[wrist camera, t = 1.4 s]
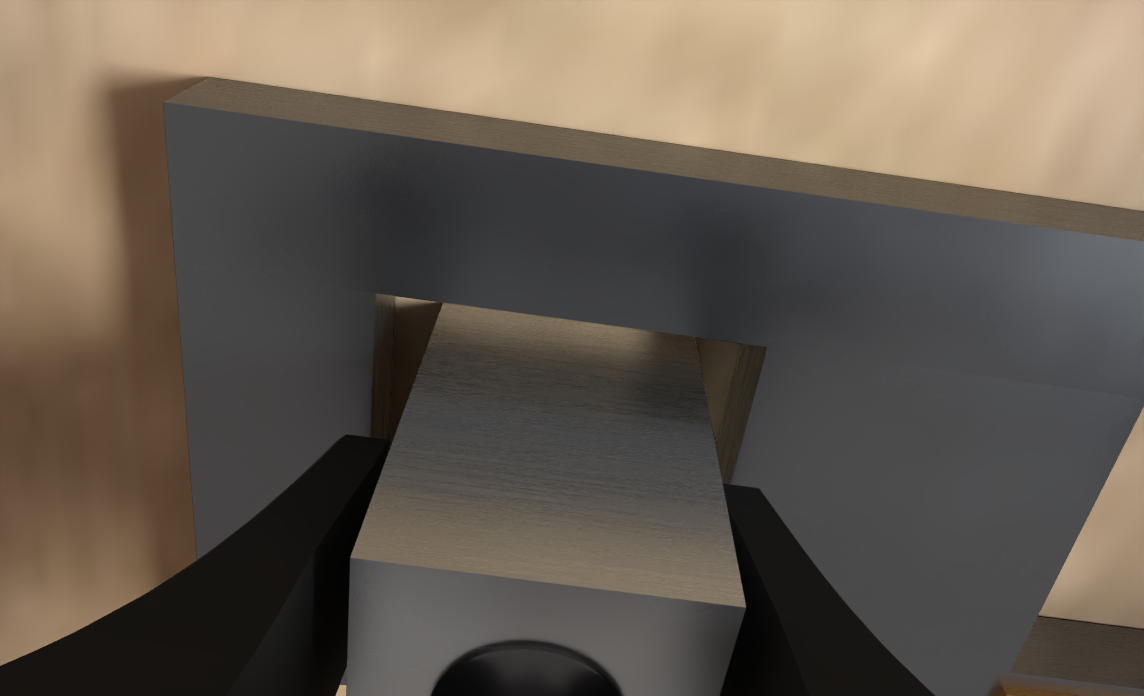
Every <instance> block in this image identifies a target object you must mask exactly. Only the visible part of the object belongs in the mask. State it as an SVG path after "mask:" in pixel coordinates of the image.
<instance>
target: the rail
mask: <svg viewBox="0 0 1144 696" xmlns="http://www.w3.org/2000/svg"><path fill="white" fill-rule="evenodd" d="M163 108H164V122H165V135H166V149H167V163H168V176H169V190H170V203H171V217H172V230H173V244H174V257H175V271H176V284H177V298H178V311H179V325H180V338H181V352H182V365H183V379H184V392H185V406H186V419H187V433H188V447H189V460H190V474H191V487H192V501H193V514H194V528H195V541H196V555H197V560H198V559H199V558H201V557H202V556H204V555H205V554H206V553H208V552H209V551H211V550H212V549H213V548H214V547H216V546H217V545H218V544H220V543H221V542H222V541H224V540H225V539H226V538H227V537H229V536H230V535H231V534H233V533H234V532H235V531H236V530H238V529H239V528H240V527H242V526H243V525H244V524H246V523H247V522H248V521H249V520H251V519H252V518H253V517H254V516H255V515H257V514H258V513H259V512H260V511H261V510H262V509H264V508H265V507H266V506H267V505H268V504H269V503H271V502H272V501H273V500H274V499H275V498H276V497H277V496H279V495H280V494H281V493H282V492H283V491H284V490H286V489H287V488H288V487H289V486H290V485H291V484H292V483H293V482H294V481H296V480H297V479H298V478H299V477H300V476H301V475H302V474H303V473H304V472H305V471H306V470H307V469H308V468H310V467H311V466H312V465H313V464H314V463H315V462H316V461H317V460H318V459H319V458H320V457H321V456H322V455H323V454H324V453H325V452H326V451H327V450H328V449H329V448H330V447H331V446H332V445H333V444H334V443H335V442H336V441H337V440H339V439H340V438H341V437H343V436H344V435H346V434H349V435H356V436H364V437H372V438H379V439H387V440H388V432H389V412H390V392H391V371H392V351H393V331H394V311H395V296H398V297H405V298H413V299H420V300H427V301H435V302H442V303H449V304H457V305H464V306H471V307H479V308H486V309H493V310H501V311H508V312H515V313H523V314H530V315H537V316H545V317H552V318H559V319H567V320H574V321H581V322H589V323H596V324H603V325H611V326H618V327H625V328H633V329H640V330H647V331H655V332H662V333H669V334H677V335H684V336H691V337H699V338H706V339H713V340H721V341H728V342H735V343H742V344H741V348H740V352H739V356H738V360H737V364H736V368H735V372H734V376H733V380H732V384H731V388H730V392H729V396H728V400H727V404H726V408H725V411H724V415H723V419H722V423H721V427H720V431H719V435H718V439H717V443H716V451H717V457H718V462H719V467H720V472H721V478H722V483H724V484H731V485H739V486H747V487H754V488H759V489H760V490H761V491H762V493H763V494H764V496H765V497H766V498H767V500H768V501H769V502H770V504H771V505H772V507H773V508H774V509H775V511H776V512H777V513H778V515H779V516H780V518H781V519H782V520H783V522H784V523H785V525H786V526H787V527H788V529H789V530H790V532H791V533H792V534H793V536H794V537H795V538H796V540H797V541H798V542H799V544H800V545H801V547H802V548H803V549H804V551H805V552H806V553H807V555H808V556H809V557H810V559H811V560H812V561H813V563H814V564H815V565H816V567H817V568H818V569H819V570H820V572H821V573H822V574H823V575H824V577H825V578H826V579H827V581H828V582H829V583H830V584H831V586H832V587H833V588H834V589H835V591H836V592H837V593H838V594H839V595H840V597H841V598H842V599H843V600H844V601H845V602H846V604H847V605H848V606H849V607H850V608H851V610H852V611H853V612H854V613H855V614H856V615H857V616H858V617H859V619H860V620H861V621H862V622H863V623H864V624H865V625H866V626H867V628H868V629H869V630H870V631H871V632H872V633H873V634H874V635H875V637H876V638H877V639H878V640H879V641H880V642H881V643H882V644H883V645H884V646H885V647H886V648H887V649H888V650H889V651H890V652H891V653H892V654H893V655H894V656H895V658H897V659H898V660H899V661H900V662H901V663H902V664H903V665H904V666H905V667H906V668H907V669H908V670H909V671H910V672H911V673H912V674H913V675H914V676H915V677H916V678H917V679H918V680H919V681H920V682H921V683H922V684H923V685H924V686H926V687H927V688H928V689H929V690H930V691H931V692H932V693H933V694H934V695H935V696H1144V630H1139V629H1131V628H1123V627H1116V626H1108V625H1100V624H1092V623H1084V622H1076V621H1068V620H1060V619H1053V618H1045V617H1037V616H1038V614H1039V612H1040V610H1041V608H1042V606H1043V604H1044V602H1045V600H1046V598H1047V596H1048V594H1049V593H1050V591H1051V589H1052V587H1053V585H1054V583H1055V581H1056V579H1057V577H1058V575H1059V573H1060V571H1061V569H1062V567H1063V565H1064V563H1065V561H1066V559H1067V557H1068V555H1069V553H1070V551H1071V549H1072V547H1073V545H1074V543H1075V541H1076V539H1077V537H1078V535H1079V533H1080V531H1081V529H1082V527H1083V525H1084V523H1085V521H1086V519H1087V517H1088V515H1089V514H1090V512H1091V510H1092V508H1093V506H1094V504H1095V502H1096V500H1097V498H1098V496H1099V494H1100V492H1101V490H1102V488H1103V486H1104V484H1105V482H1106V480H1107V478H1108V476H1109V474H1110V472H1111V470H1112V468H1113V466H1114V464H1115V462H1116V460H1117V458H1118V456H1119V454H1120V452H1121V450H1122V448H1123V446H1124V444H1125V442H1126V440H1127V438H1128V436H1129V435H1130V433H1131V431H1132V429H1133V427H1134V425H1135V423H1136V421H1137V419H1138V417H1139V415H1140V413H1141V411H1142V409H1143V407H1144V212H1143V211H1136V210H1129V209H1122V208H1115V207H1108V206H1101V205H1094V204H1088V203H1081V202H1074V201H1067V200H1060V199H1053V198H1046V197H1039V196H1032V195H1025V194H1018V193H1011V192H1004V191H997V190H990V189H983V188H976V187H969V186H962V185H955V184H949V183H942V182H935V181H928V180H921V179H914V178H907V177H900V176H893V175H886V174H879V173H872V172H865V171H858V170H851V169H844V168H837V167H830V166H823V165H816V164H810V163H803V162H796V161H789V160H782V159H775V158H768V157H761V156H754V155H747V154H740V153H733V152H726V151H719V150H712V149H705V148H698V147H691V146H684V145H677V144H671V143H664V142H657V141H650V140H643V139H636V138H629V137H622V136H615V135H608V134H601V133H594V132H587V131H580V130H573V129H566V128H559V127H552V126H545V125H538V124H532V123H525V122H518V121H511V120H504V119H497V118H490V117H483V116H476V115H469V114H462V113H455V112H448V111H441V110H434V109H427V108H420V107H413V106H406V105H399V104H392V103H386V102H379V101H372V100H365V99H358V98H351V97H344V96H337V95H330V94H323V93H316V92H309V91H302V90H295V89H288V88H281V87H274V86H267V85H260V84H253V83H247V82H240V81H233V80H226V79H219V78H212V77H208V78H206V79H204V80H202V81H200V82H199V83H197V84H195V85H193V86H191V87H189V88H188V89H186V90H184V91H182V92H180V93H178V94H177V95H175V96H173V97H171V98H169V99H167V100H166V101H164V102H163ZM340 684H341V685H347V667H346V670H345V672H344V675H343V677H342V680H341V683H340Z"/></svg>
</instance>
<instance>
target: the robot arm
mask: <svg viewBox="0 0 1144 696" xmlns="http://www.w3.org/2000/svg"><path fill="white" fill-rule="evenodd" d="M388 446H389V440H387V439H379V438H372V437H364V436H356V435H349V434H346V435H344V436H343V437H341V438H340V439H339V440H337V441H336V442H335V443H334V444H333V445H332V446H331V447H330V448H329V449H328V450H327V451H326V452H325V453H324V454H323V455H322V456H321V457H320V458H319V459H318V460H317V461H316V462H315V463H314V464H313V465H312V466H311V467H310V468H308V469H307V470H306V471H305V472H304V473H303V474H302V475H301V476H300V477H299V478H298V479H297V480H296V481H294V482H293V483H292V484H291V485H290V486H289V487H288V488H287V489H286V490H284V491H283V492H282V493H281V494H280V495H279V496H277V497H276V498H275V499H274V500H273V501H272V502H271V503H269V504H268V505H267V506H266V507H265V508H264V509H262V510H261V511H260V512H259V513H258V514H257V515H255V516H254V517H253V518H252V519H251V520H249V521H248V522H247V523H246V524H244V525H243V526H242V527H240V528H239V529H238V530H236V531H235V532H234V533H233V534H231V535H230V536H229V537H227V538H226V539H225V540H224V541H222V542H221V543H220V544H218V545H217V546H216V547H214V548H213V549H212V550H211V551H209V552H208V553H206V554H205V555H204V556H202V557H201V558H199V559H198V560H197V561H195V562H194V563H192V564H191V565H189V566H188V567H186V568H185V569H184V570H182V571H181V572H179V573H178V574H176V575H175V576H173V577H171V578H170V579H168V580H167V581H165V582H164V583H162V584H161V585H159V586H157V587H156V588H154V589H153V590H151V591H149V592H148V593H146V594H145V595H143V596H141V597H139V598H137V599H136V600H134V601H132V602H130V603H128V604H126V605H125V606H123V607H121V608H119V609H117V610H115V611H113V612H112V613H110V614H108V615H106V616H104V617H102V618H100V619H99V620H97V621H95V622H93V623H91V624H89V625H88V626H86V627H84V628H82V629H80V630H78V631H76V632H74V633H72V634H70V635H68V636H66V637H64V638H62V639H59V640H57V641H55V642H53V643H51V644H49V645H47V646H45V647H42V648H40V649H38V650H36V651H34V652H31V653H29V654H27V655H25V656H22V657H20V658H18V659H15V660H13V661H11V662H8V663H6V664H4V665H2V666H0V696H335V695H336V693H337V690H338V688H339V685H340V683H341V680H342V677H343V675H344V672H345V670H346V667H347V654H348V619H349V583H350V557H351V554H352V552H353V549H354V546H355V543H356V541H357V538H358V535H359V532H360V530H361V527H362V524H363V521H364V519H365V516H366V513H367V510H368V508H369V505H370V502H371V499H372V497H373V494H374V491H375V488H376V486H377V483H378V480H379V477H380V475H381V472H382V469H383V466H384V464H385V461H386V458H387V456H388ZM723 488H724V493H725V499H726V504H727V509H728V514H729V520H730V525H731V530H732V536H733V541H734V546H735V551H736V557H737V562H738V567H739V572H740V578H741V583H742V588H743V593H744V599H745V604H746V610H745V613H744V616H743V620H742V623H741V626H740V630H739V633H738V636H737V639H736V643H735V646H734V649H733V653H732V656H731V659H730V663H729V666H728V669H727V673H726V676H725V679H724V682H723V686H722V689H721V692H720V696H935V695H934V694H933V693H932V692H931V691H930V690H929V689H928V688H927V687H926V686H924V685H923V684H922V683H921V682H920V681H919V680H918V679H917V678H916V677H915V676H914V675H913V674H912V673H911V672H910V671H909V670H908V669H907V668H906V667H905V666H904V665H903V664H902V663H901V662H900V661H899V660H898V659H897V658H895V656H894V655H893V654H892V653H891V652H890V651H889V650H888V649H887V648H886V647H885V646H884V645H883V644H882V643H881V642H880V641H879V640H878V639H877V638H876V637H875V635H874V634H873V633H872V632H871V631H870V630H869V629H868V628H867V626H866V625H865V624H864V623H863V622H862V621H861V620H860V619H859V617H858V616H857V615H856V614H855V613H854V612H853V611H852V610H851V608H850V607H849V606H848V605H847V604H846V602H845V601H844V600H843V599H842V598H841V597H840V595H839V594H838V593H837V592H836V591H835V589H834V588H833V587H832V586H831V584H830V583H829V582H828V581H827V579H826V578H825V577H824V575H823V574H822V573H821V572H820V570H819V569H818V568H817V567H816V565H815V564H814V563H813V561H812V560H811V559H810V557H809V556H808V555H807V553H806V552H805V551H804V549H803V548H802V547H801V545H800V544H799V542H798V541H797V540H796V538H795V537H794V536H793V534H792V533H791V532H790V530H789V529H788V527H787V526H786V525H785V523H784V522H783V520H782V519H781V518H780V516H779V515H778V513H777V512H776V511H775V509H774V508H773V507H772V505H771V504H770V502H769V501H768V500H767V498H766V497H765V496H764V494H763V493H762V491H761V490H760V489H759V488H754V487H747V486H739V485H731V484H724V483H723Z"/></svg>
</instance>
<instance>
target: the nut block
mask: <svg viewBox="0 0 1144 696" xmlns="http://www.w3.org/2000/svg"><path fill="white" fill-rule="evenodd" d="M745 610H746V604H745V599H744V593H743V588H742V583H741V578H740V572H739V567H738V562H737V557H736V551H735V546H734V541H733V536H732V530H731V525H730V520H729V514H728V509H727V504H726V499H725V493H724V488H723V483H722V478H721V472H720V467H719V462H718V457H717V451H716V446H715V441H714V436H713V430H712V425H711V420H710V414H709V409H708V404H707V399H706V393H705V388H704V383H703V378H702V372H701V367H700V362H699V357H698V351H697V346H696V341H695V337H691V336H684V335H677V334H669V333H662V332H655V331H647V330H640V329H633V328H625V327H618V326H611V325H603V324H596V323H589V322H581V321H574V320H567V319H559V318H552V317H545V316H537V315H530V314H523V313H515V312H508V311H501V310H493V309H486V308H479V307H471V306H464V305H457V304H449V303H443V305H442V307H441V310H440V313H439V316H438V318H437V321H436V324H435V327H434V329H433V332H432V335H431V338H430V340H429V343H428V346H427V349H426V351H425V354H424V357H423V360H422V362H421V365H420V368H419V371H418V373H417V376H416V379H415V381H414V384H413V387H412V390H411V392H410V395H409V398H408V401H407V403H406V406H405V409H404V412H403V414H402V417H401V420H400V423H399V425H398V428H397V431H396V434H395V436H394V439H393V442H392V445H391V447H390V450H389V453H388V456H387V458H386V461H385V464H384V466H383V469H382V472H381V475H380V477H379V480H378V483H377V486H376V488H375V491H374V494H373V497H372V499H371V502H370V505H369V508H368V510H367V513H366V516H365V519H364V521H363V524H362V527H361V530H360V532H359V535H358V538H357V541H356V543H355V546H354V549H353V552H352V554H351V557H350V583H349V619H348V654H347V690H346V696H720V692H721V689H722V686H723V682H724V679H725V676H726V673H727V669H728V666H729V663H730V659H731V656H732V653H733V649H734V646H735V643H736V639H737V636H738V633H739V630H740V626H741V623H742V620H743V616H744V613H745Z"/></svg>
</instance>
